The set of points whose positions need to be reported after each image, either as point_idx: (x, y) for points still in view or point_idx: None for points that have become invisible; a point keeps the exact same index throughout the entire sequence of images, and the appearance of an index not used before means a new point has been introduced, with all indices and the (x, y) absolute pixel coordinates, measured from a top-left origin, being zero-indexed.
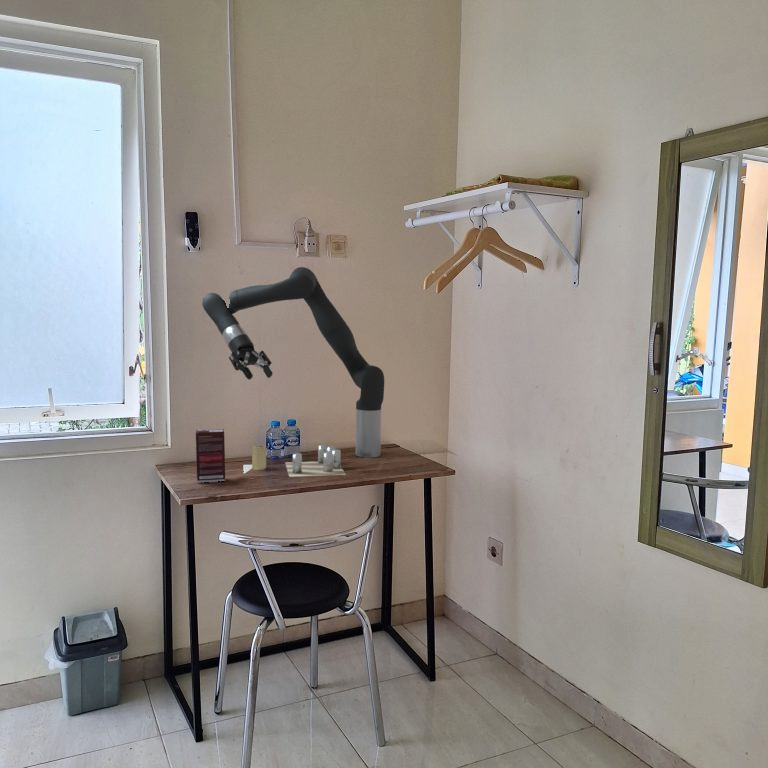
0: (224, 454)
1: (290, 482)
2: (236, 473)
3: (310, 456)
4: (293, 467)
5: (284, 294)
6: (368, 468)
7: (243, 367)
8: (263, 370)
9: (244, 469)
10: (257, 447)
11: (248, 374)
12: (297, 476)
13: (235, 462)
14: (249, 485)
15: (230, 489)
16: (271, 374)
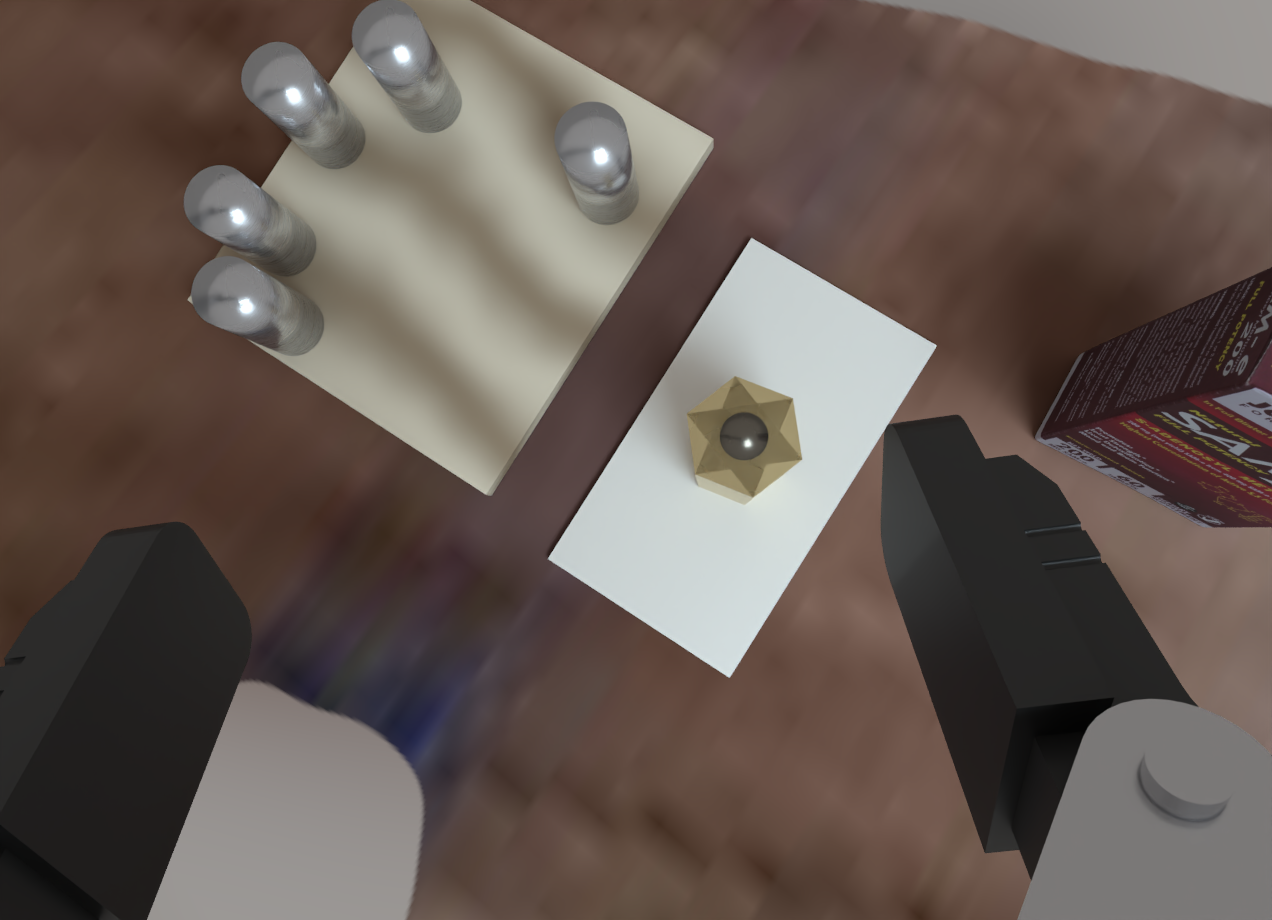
0: (1179, 310)
1: (746, 90)
2: None
3: None
4: (635, 176)
5: None
6: (144, 82)
7: (1234, 756)
8: (141, 901)
9: (804, 544)
10: (781, 405)
11: (1032, 478)
12: (667, 113)
13: (709, 818)
14: (994, 184)
15: (1144, 173)
16: (159, 529)
